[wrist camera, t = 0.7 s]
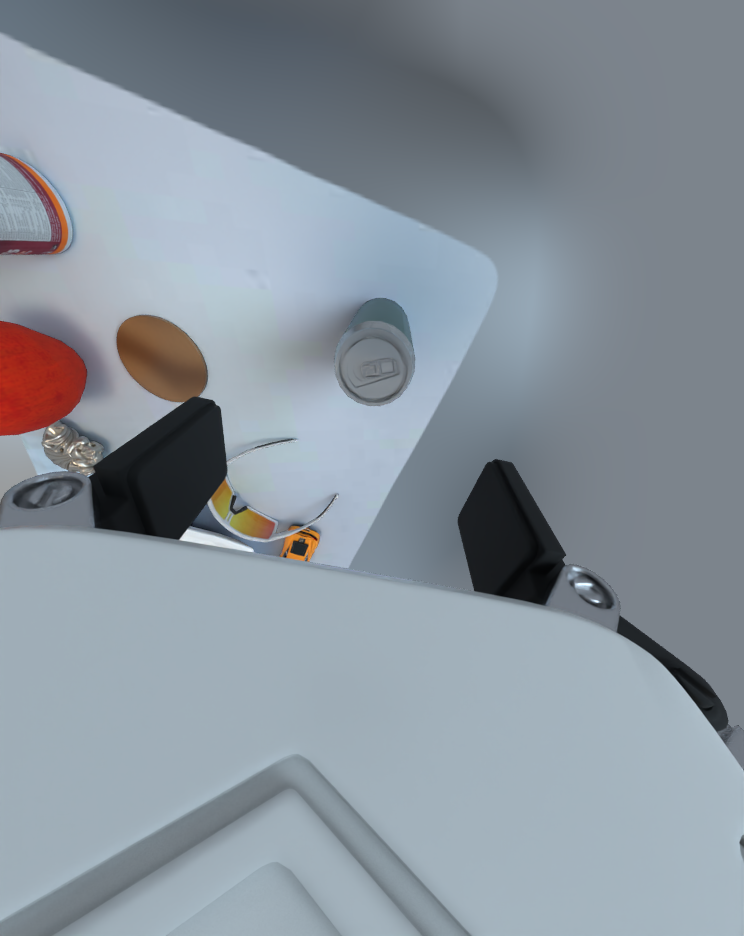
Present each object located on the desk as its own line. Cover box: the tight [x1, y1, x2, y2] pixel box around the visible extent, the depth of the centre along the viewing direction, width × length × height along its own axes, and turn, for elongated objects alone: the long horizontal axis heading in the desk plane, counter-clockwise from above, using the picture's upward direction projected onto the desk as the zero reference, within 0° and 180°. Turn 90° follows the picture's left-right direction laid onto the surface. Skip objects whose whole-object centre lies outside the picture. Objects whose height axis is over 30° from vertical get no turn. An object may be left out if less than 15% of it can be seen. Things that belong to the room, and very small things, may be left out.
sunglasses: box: [208, 439, 339, 542], centre depth 40 cm, size 14×15×5 cm
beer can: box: [334, 298, 415, 406], centre depth 23 cm, size 5×5×12 cm
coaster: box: [117, 315, 208, 402], centre depth 31 cm, size 9×9×1 cm
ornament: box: [42, 421, 104, 476], centre depth 37 cm, size 8×7×4 cm
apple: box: [0, 321, 87, 436], centre depth 27 cm, size 10×10×12 cm
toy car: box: [279, 526, 320, 562], centre depth 48 cm, size 6×12×3 cm, turn 159°
